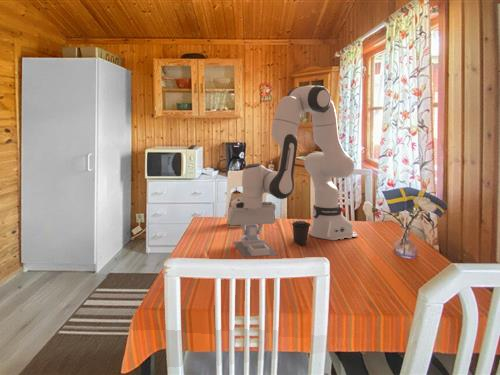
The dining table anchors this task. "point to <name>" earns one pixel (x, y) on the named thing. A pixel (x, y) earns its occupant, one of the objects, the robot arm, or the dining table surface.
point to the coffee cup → (300, 232)
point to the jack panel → (254, 247)
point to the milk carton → (234, 196)
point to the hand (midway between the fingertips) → (251, 234)
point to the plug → (251, 232)
